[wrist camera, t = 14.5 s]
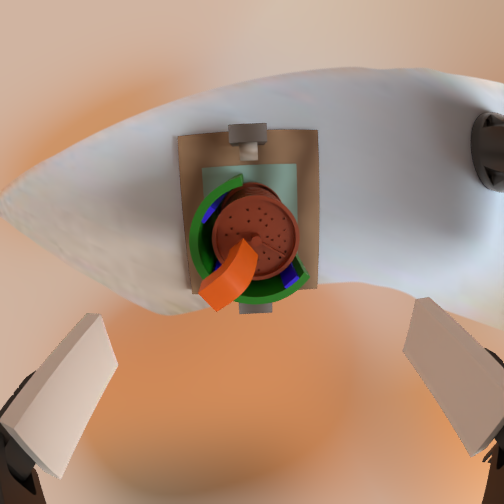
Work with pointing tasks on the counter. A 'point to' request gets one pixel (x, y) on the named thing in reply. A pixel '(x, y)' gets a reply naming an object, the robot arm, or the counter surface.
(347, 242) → the counter surface
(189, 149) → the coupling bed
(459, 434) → the robot arm
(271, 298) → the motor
